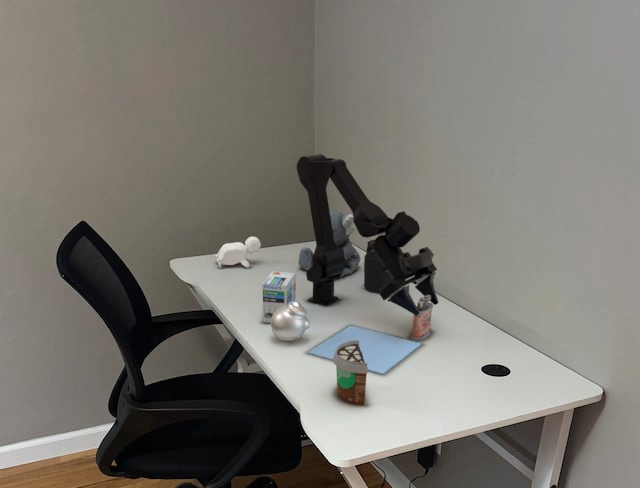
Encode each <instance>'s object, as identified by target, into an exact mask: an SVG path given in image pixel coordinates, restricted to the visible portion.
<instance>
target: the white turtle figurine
mask: <svg viewBox="0 0 640 488" xmlns="http://www.w3.org/2000/svg"><path fill="white" fill-rule="evenodd" d="M261 246H262V243H261V241H260V239H259V238H258V236H257V237H256V236H249V237H247V239H246V240H245V242H244V244H243V242H239V241H236V242H235V241H234V242H228V243H224V244H223V245H222V246H221V247H220V248H219V250H218V252H217V254H215V255H214V257H215V259H216V262H217V265H218V266H219V269H222V266H233V265H236V264H239V263H240V264H241V265H242V266H244V267H245V268H247V269H249V268H250V267H251V266H250V262H249V261H248V258H247V255H248V254H247V253H249V254H250V255H251V254H254V253H256V252H258V251H259V250H260V249H261Z"/></svg>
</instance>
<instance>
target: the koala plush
mask: <svg viewBox="0 0 640 488" xmlns="http://www.w3.org/2000/svg"><path fill="white" fill-rule="evenodd" d="M329 211H330V217H331V223H332V230H333V236H334V242H335V244H336V245H337V246H338V247H339V248H343V250H344V257H345V260H346V263H345V269H344V270H343V272H342V275H341V278H342V277H345V276H348V275H349V276H350V275H352V273H353V272H354V271H355V270H356V269H357V268H358V266H359V265H360V263H361V256H360V253H359V251H358V250H357V249H356V248H355V247H354V245H353V243H352V241H351V240H350V235H353V233H354V232H356V231H357V228H356V226H355V224H354V222H353V213H347V214H346V213H344V212H341V211H339V210H330V209H329ZM313 254H314V251H312V249H311V248H310V247H308V246H305V247H302V248H301V249H300V252H299V256H298V266H299V267H300V268H301V269H302V270H304V271H308V270H309V269H310V268H311V267H312V266H313Z"/></svg>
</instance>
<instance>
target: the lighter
mask: <svg viewBox="0 0 640 488" xmlns="http://www.w3.org/2000/svg"><path fill="white" fill-rule="evenodd" d="M430 300H431V296H430V295H426V296H423V297H420V298H419V299H418V301H417V304H416V306H417V308H418V310H419V312H420V313H419V314H418V315H414V314H413V317H412V318H413V319H412V320H413V321H412V330H411V335H410V341H414V342H421V341H423V340H425V339H426V338H428V337H429V336H430V334H431V331H432V328H431V325H432V324H431V323H432V314H433V308H434V304H433V303H432V302H430Z"/></svg>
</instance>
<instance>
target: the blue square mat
mask: <svg viewBox="0 0 640 488" xmlns="http://www.w3.org/2000/svg"><path fill="white" fill-rule="evenodd" d="M354 340H359V347H360V350H361V352H362V355H363V359H364V362H365V363H367V372H368V371H369V372H372V373H375V374H379V375H384V374H386V373H387V372H388V371H389V370H391V369H392V368H393V367H395V366H396V365H397V364H398V363H400V362H401V361H402V360H404V359H405V358H406V357H408V356H409V355H410V354H411V353H413V352H414V351H415V350H416V349H418V348H419V347H421V345H422V342H419V341H413V340H411V339H410V340H409V339H407V338H402V337H398V336H394V335H390V334H386V333H382V332H378V331H375V330H372V329H371V330H370V329H367V328H362V327H359V326H355V325H349V326H348V327H346V328H344V329H343V330H341V331H340V332H338V333H337V334H335V335H333V336H332V337H330V338H328V339H326V340H325V341H324V342H321V344H319V345H316V347H314V348H312V349H311V350H310V351H308V354H309V355H314V356H317V357H320V358H323V359H327V360H330V361H333V357H334V353H335V350H336V348H337V347H338V346H339V345H340V344H342V343H345V342H348V341H354Z"/></svg>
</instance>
